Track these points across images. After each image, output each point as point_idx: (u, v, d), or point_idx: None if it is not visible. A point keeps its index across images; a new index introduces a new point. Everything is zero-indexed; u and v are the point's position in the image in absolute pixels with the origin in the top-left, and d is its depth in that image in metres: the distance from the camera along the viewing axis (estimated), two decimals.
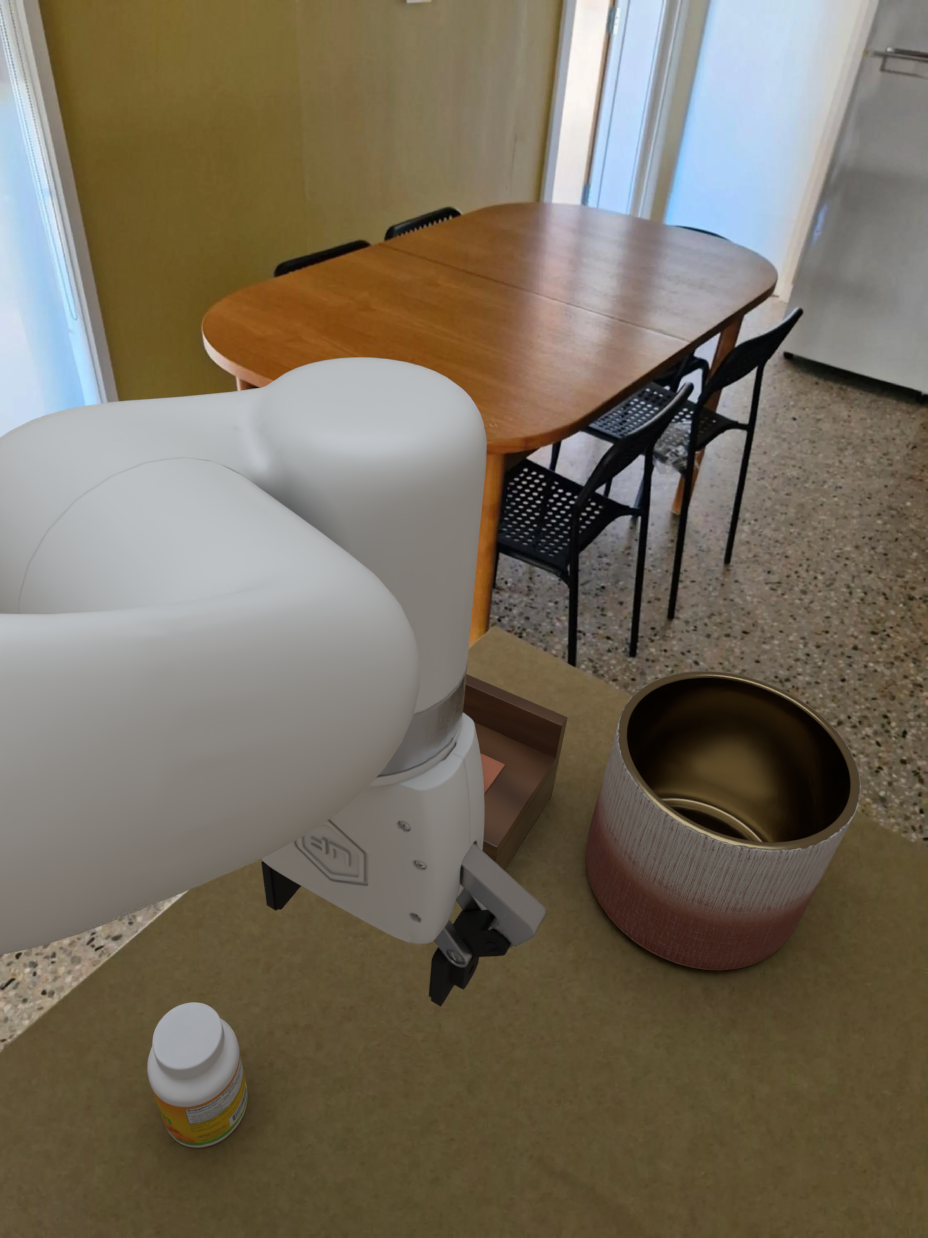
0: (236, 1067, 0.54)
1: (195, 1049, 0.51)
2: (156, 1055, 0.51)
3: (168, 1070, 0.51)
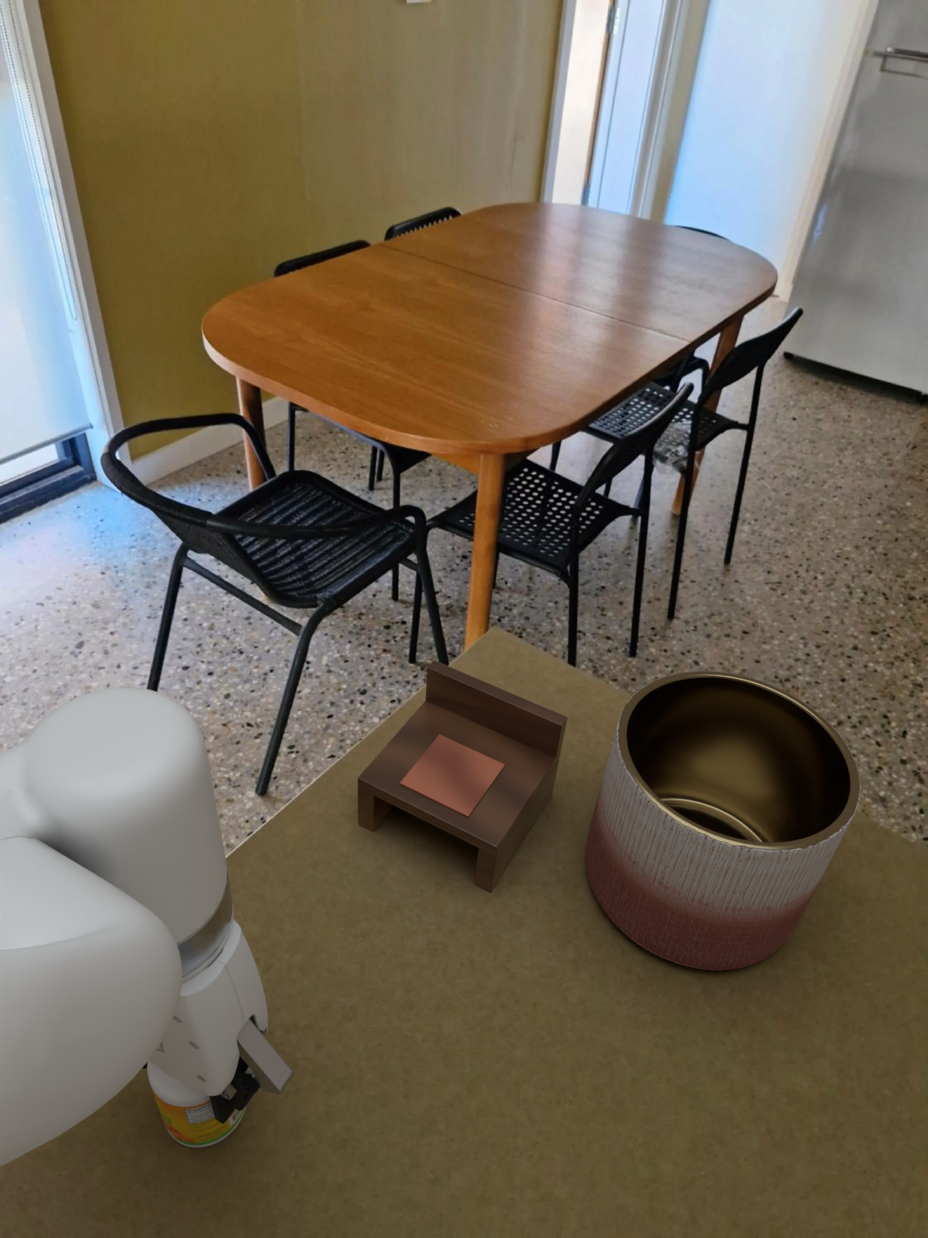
0: None
1: None
2: None
3: None
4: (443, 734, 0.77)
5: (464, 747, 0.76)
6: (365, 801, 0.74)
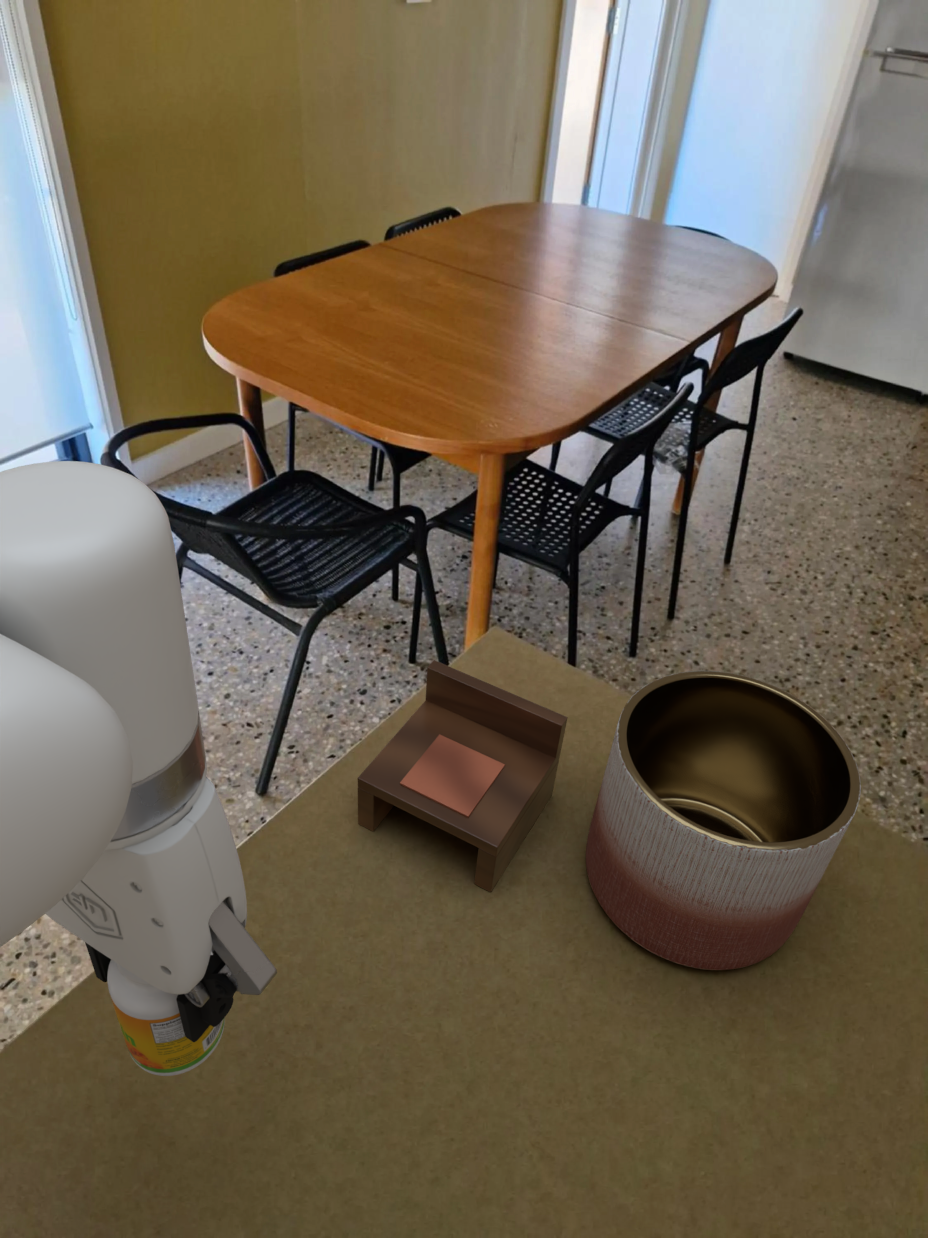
0: None
1: None
2: None
3: (130, 973, 0.43)
4: (443, 734, 0.77)
5: (464, 747, 0.76)
6: (365, 801, 0.74)
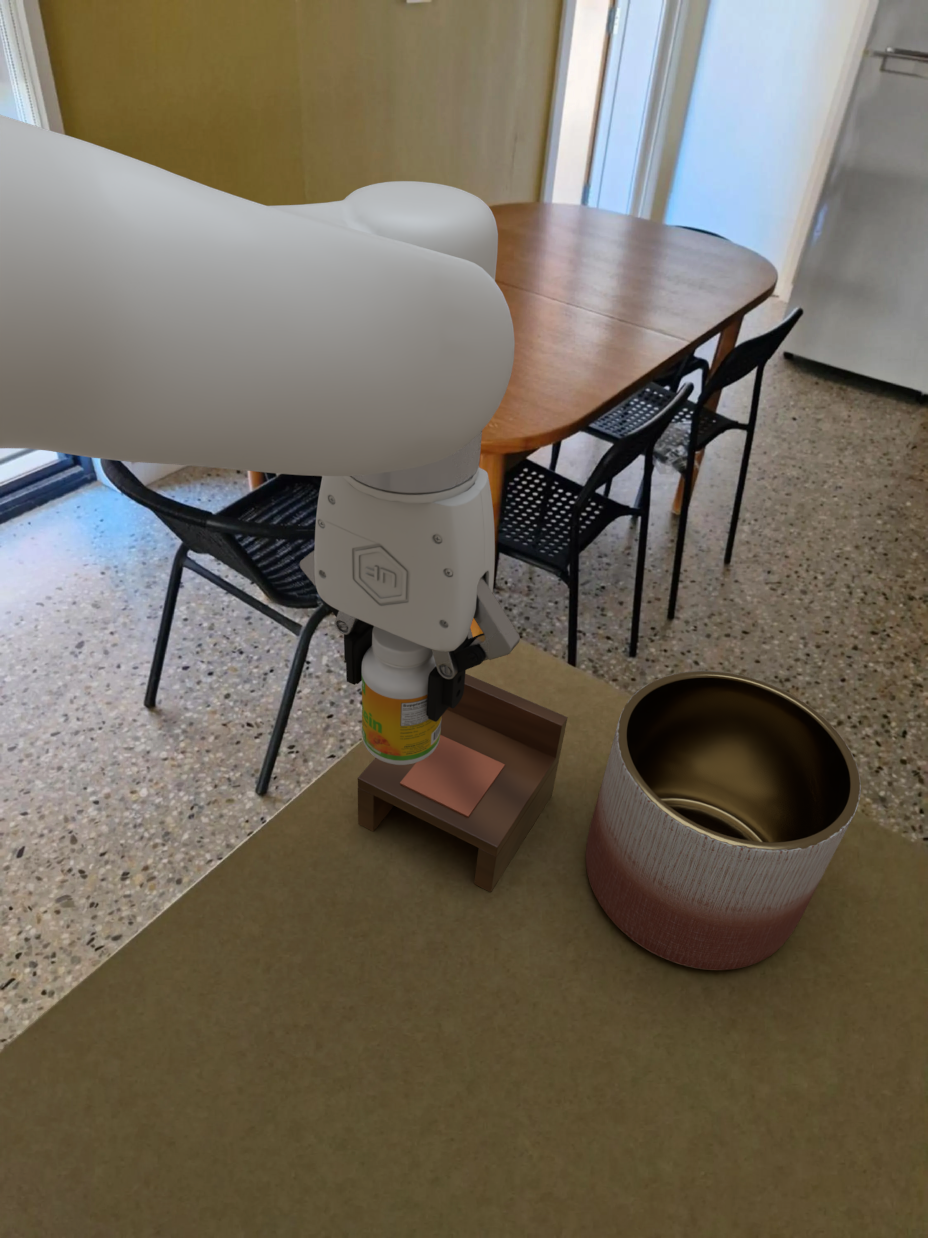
0: None
1: None
2: (379, 643, 0.54)
3: (392, 654, 0.54)
4: (443, 734, 0.77)
5: (464, 747, 0.76)
6: (365, 801, 0.74)
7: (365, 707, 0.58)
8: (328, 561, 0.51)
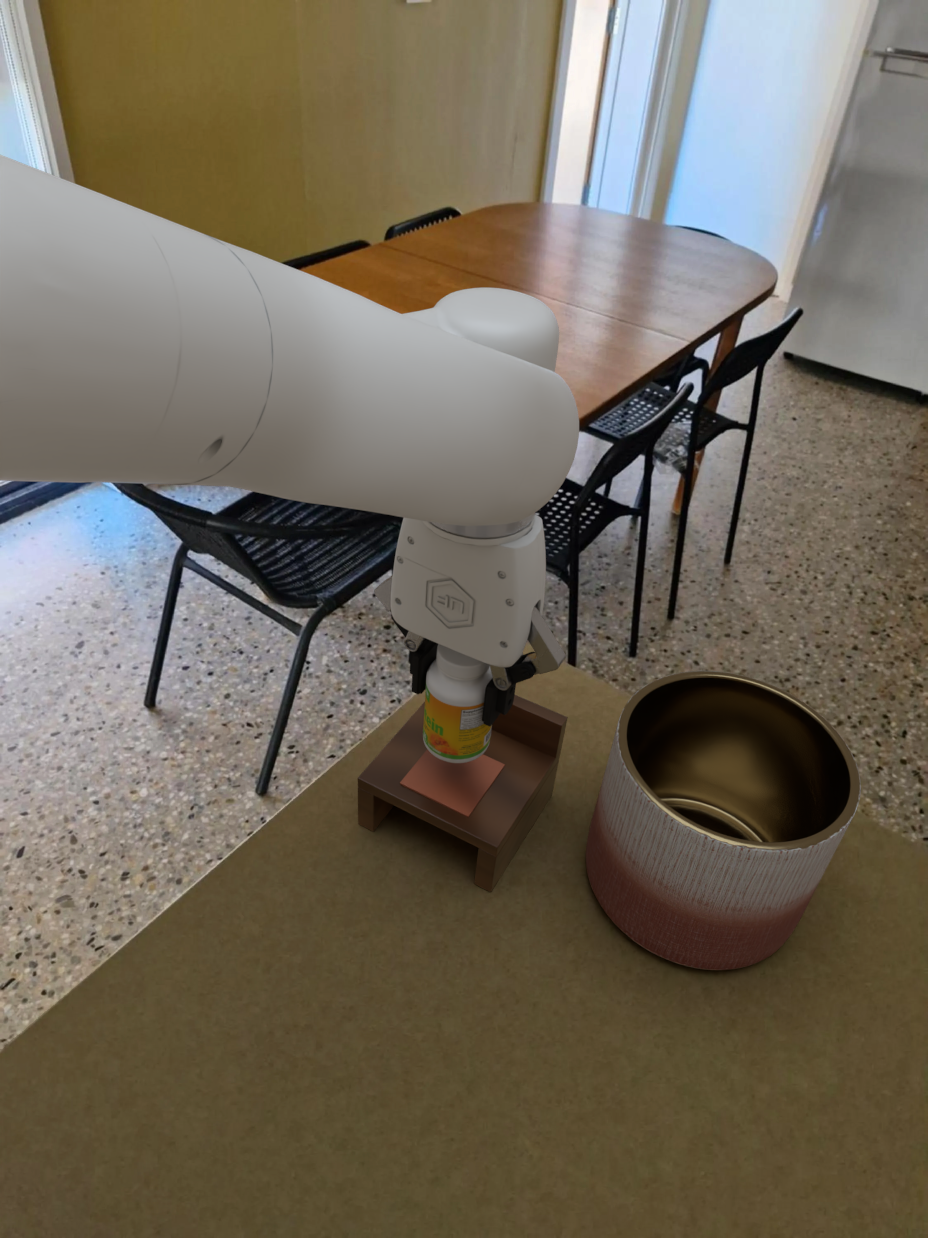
0: None
1: None
2: (444, 659, 0.64)
3: (455, 668, 0.64)
4: None
5: None
6: (365, 801, 0.74)
7: (428, 713, 0.67)
8: (404, 591, 0.61)
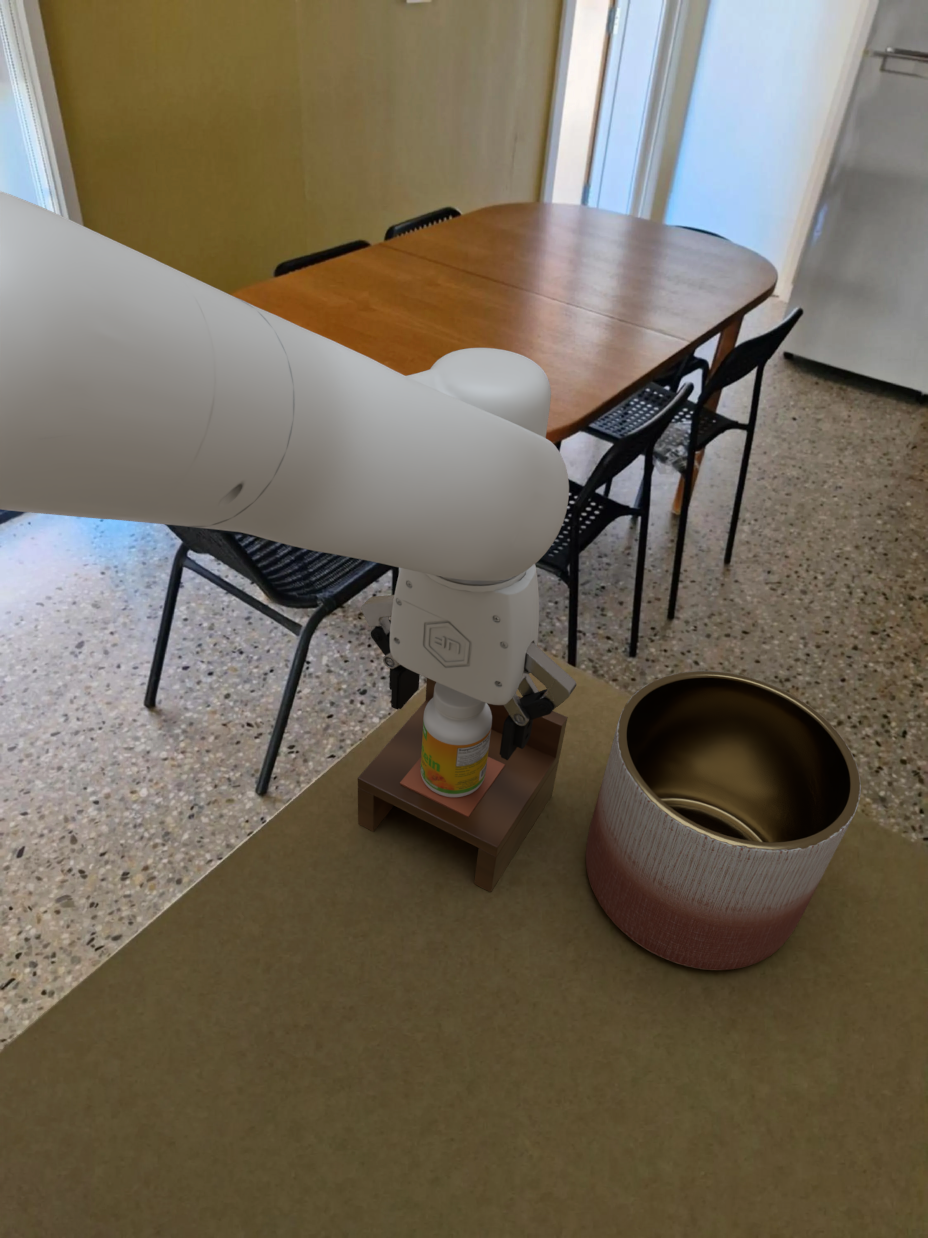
0: (491, 723, 0.69)
1: (469, 697, 0.67)
2: (440, 699, 0.66)
3: (451, 709, 0.66)
4: None
5: None
6: (365, 801, 0.74)
7: (426, 750, 0.70)
8: (402, 631, 0.63)
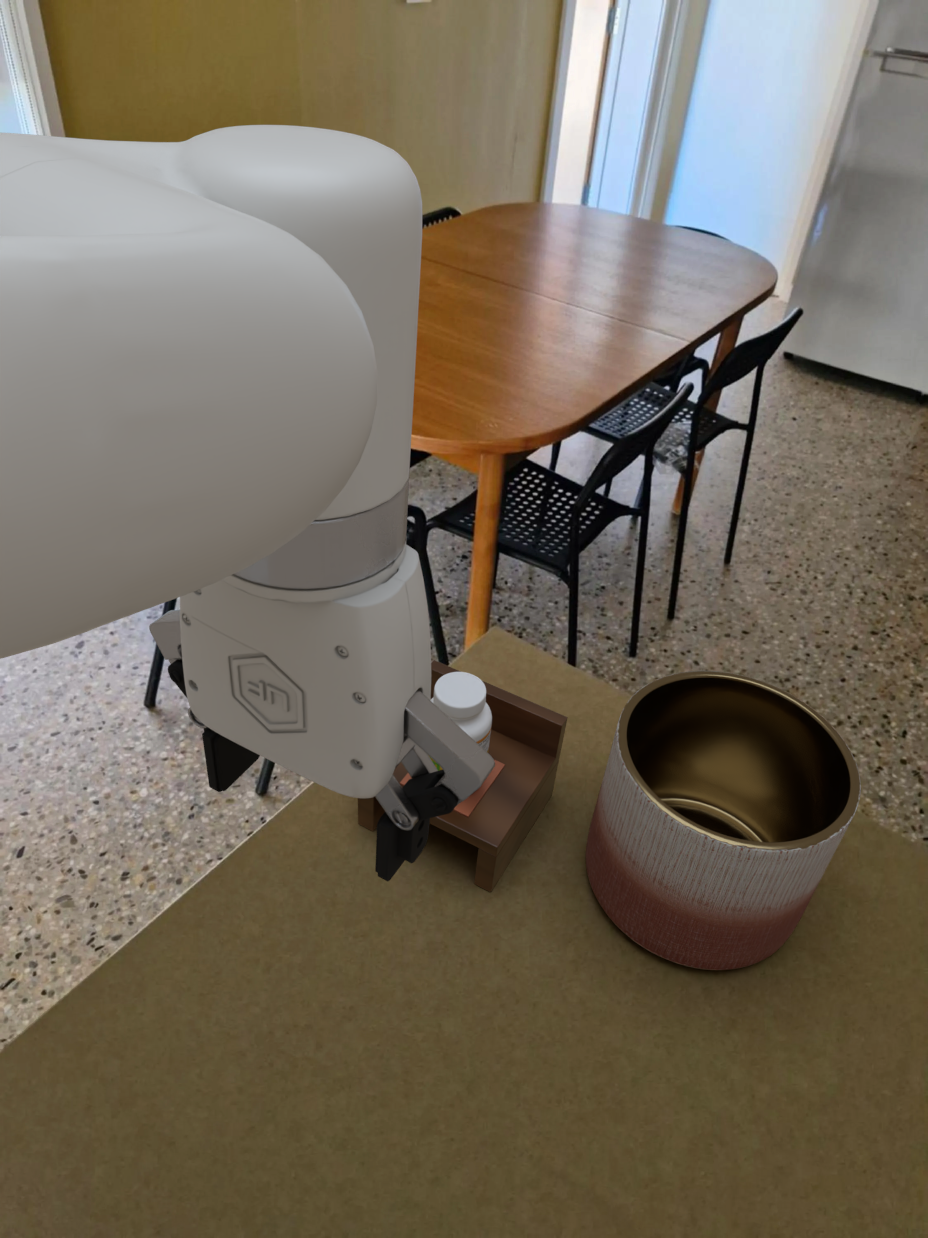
0: (491, 723, 0.69)
1: (469, 697, 0.67)
2: (440, 699, 0.66)
3: (451, 709, 0.66)
4: None
5: None
6: (365, 801, 0.74)
7: None
8: (199, 670, 0.37)
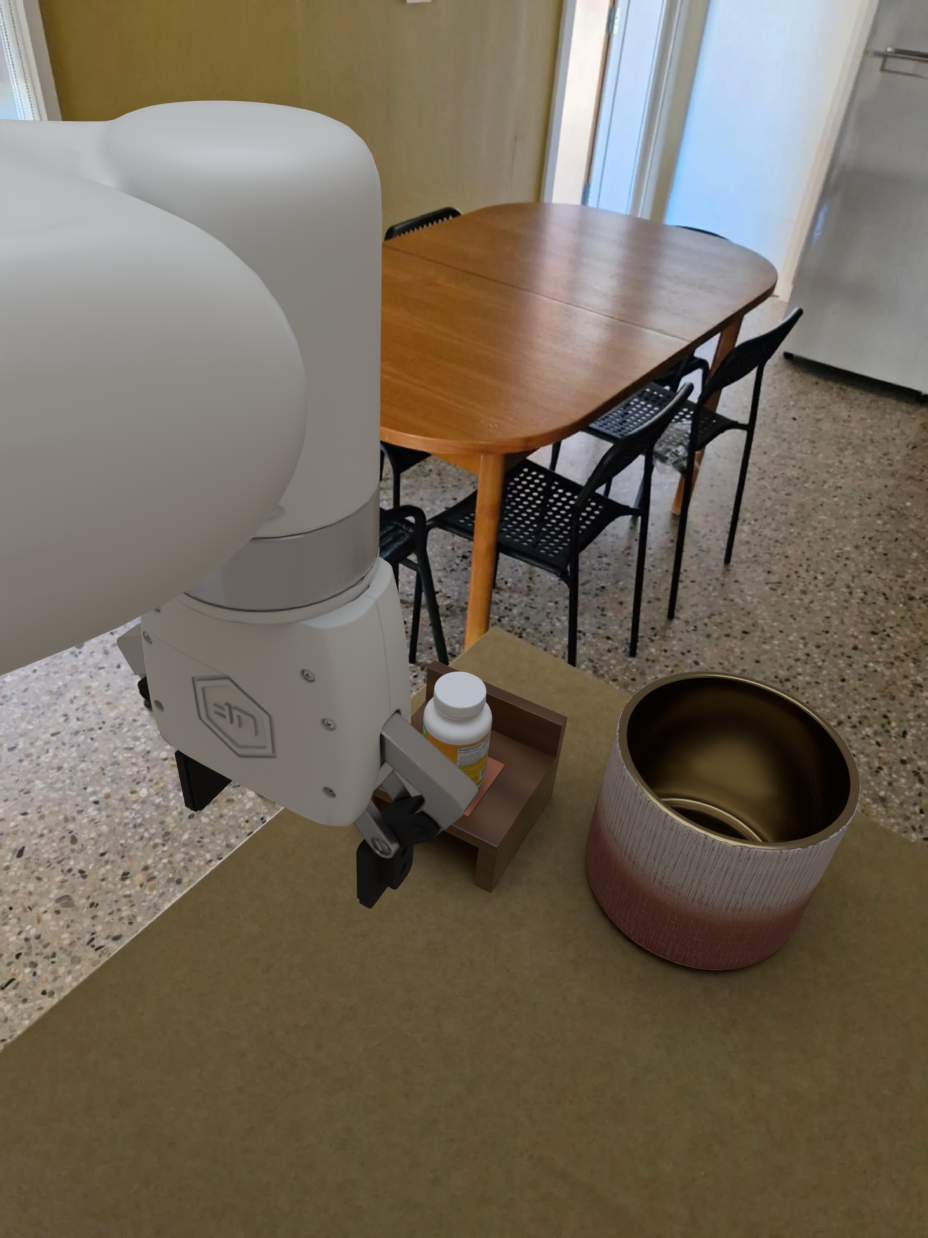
0: (491, 723, 0.69)
1: (469, 697, 0.67)
2: (440, 699, 0.66)
3: (451, 709, 0.66)
4: None
5: None
6: None
7: None
8: (164, 690, 0.34)
